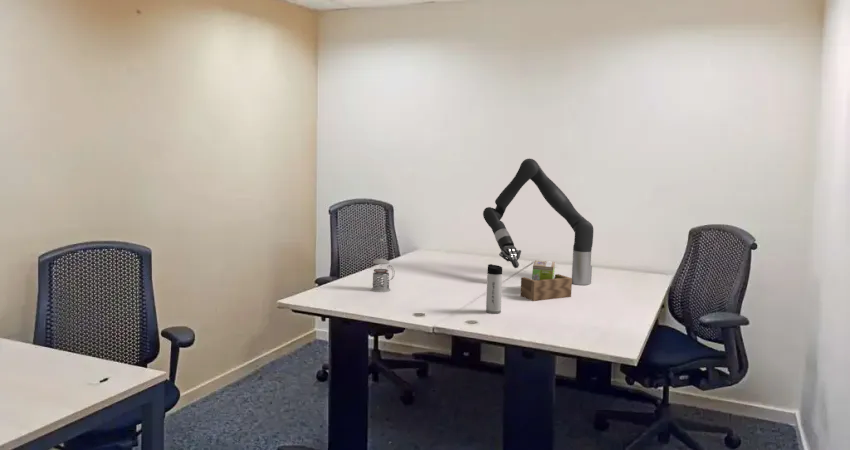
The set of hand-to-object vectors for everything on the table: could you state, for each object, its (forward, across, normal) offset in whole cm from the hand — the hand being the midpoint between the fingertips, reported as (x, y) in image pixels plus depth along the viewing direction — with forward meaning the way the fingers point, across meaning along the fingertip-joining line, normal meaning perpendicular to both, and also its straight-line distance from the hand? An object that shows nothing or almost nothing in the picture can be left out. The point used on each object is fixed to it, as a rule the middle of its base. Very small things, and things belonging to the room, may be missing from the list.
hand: (516, 267), depth 320 cm
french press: (-5, -66, +20) cm, 69 cm away
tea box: (+19, +3, -5) cm, 20 cm away
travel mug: (+34, -39, -20) cm, 55 cm away
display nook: (+23, 0, -9) cm, 25 cm away
